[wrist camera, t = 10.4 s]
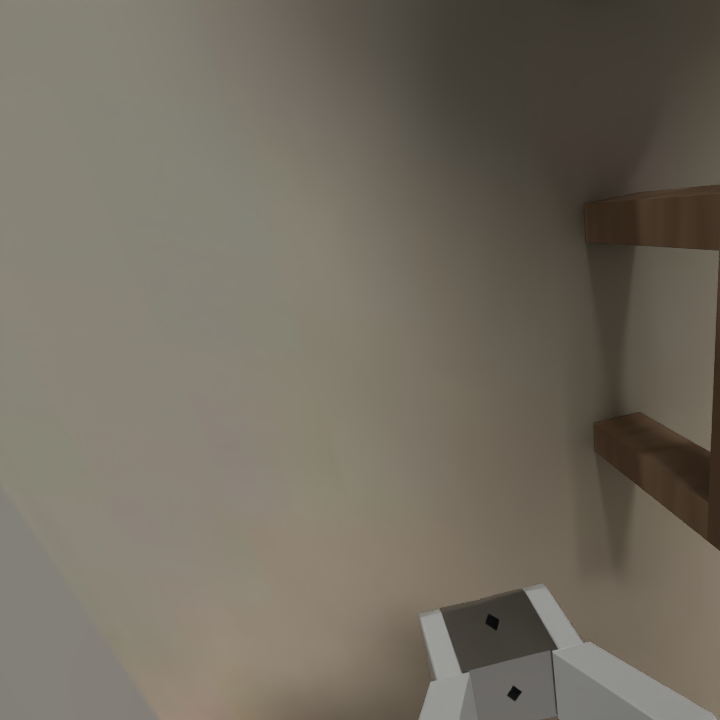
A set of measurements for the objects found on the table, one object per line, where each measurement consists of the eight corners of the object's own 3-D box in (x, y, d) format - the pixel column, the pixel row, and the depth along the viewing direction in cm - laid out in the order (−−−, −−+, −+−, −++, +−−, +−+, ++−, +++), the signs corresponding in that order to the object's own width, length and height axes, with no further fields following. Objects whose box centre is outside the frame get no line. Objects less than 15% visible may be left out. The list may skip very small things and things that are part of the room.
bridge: (594, 451, 29) (730, 558, 19) (584, 203, 24) (753, 191, 15) (640, 440, 29) (796, 542, 20) (637, 192, 24) (838, 173, 15)
